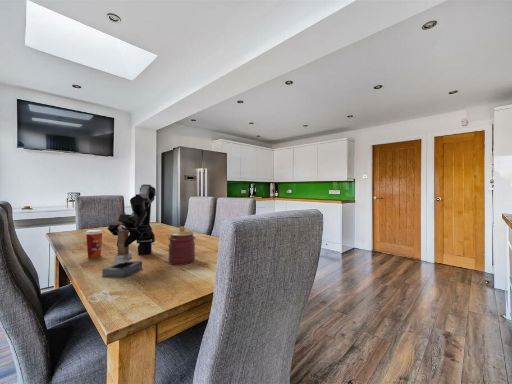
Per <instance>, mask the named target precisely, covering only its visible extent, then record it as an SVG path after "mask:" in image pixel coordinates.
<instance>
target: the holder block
mask: <svg viewBox="0 0 512 384" xmlns="http://www.w3.org/2000/svg"><path fill="white" fill-rule="evenodd" d="M141 269H143V261H138V260H129V261H127V262H125V263H113V264H110V265H107V266H106V267H104V268H102V270H101V271H102V273H101V274H102V277H107V278H108V277H109V278H110V277H111V278H126V277H129V276H130V275H132V274H133V273H136V272H138V271H139V270H141Z"/></svg>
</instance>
